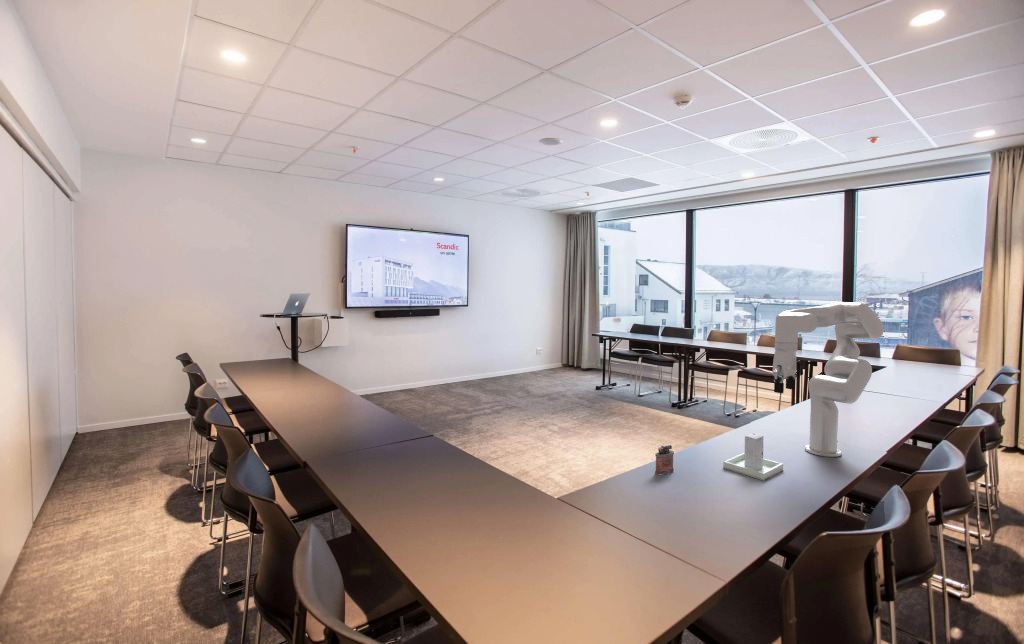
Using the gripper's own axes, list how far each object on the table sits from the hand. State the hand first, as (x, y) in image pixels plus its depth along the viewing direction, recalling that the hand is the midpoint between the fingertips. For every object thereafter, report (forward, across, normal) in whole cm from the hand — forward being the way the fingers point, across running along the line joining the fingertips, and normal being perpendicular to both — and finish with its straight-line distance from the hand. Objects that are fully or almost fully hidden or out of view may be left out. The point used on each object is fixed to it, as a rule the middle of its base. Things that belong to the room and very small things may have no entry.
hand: (784, 390), depth 183 cm
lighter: (+28, +43, -23) cm, 56 cm away
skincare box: (+28, +15, -4) cm, 32 cm away
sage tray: (+28, +15, -4) cm, 32 cm away
